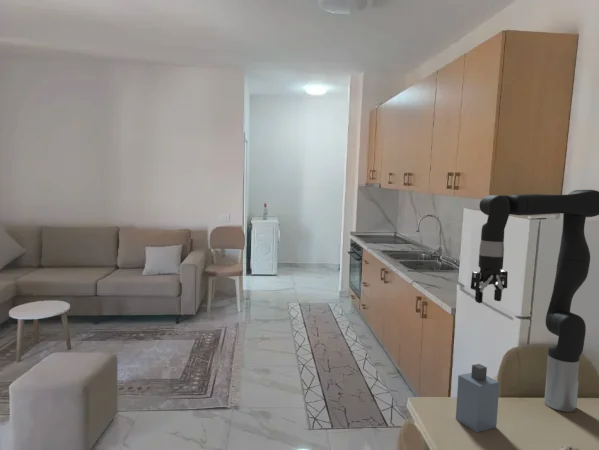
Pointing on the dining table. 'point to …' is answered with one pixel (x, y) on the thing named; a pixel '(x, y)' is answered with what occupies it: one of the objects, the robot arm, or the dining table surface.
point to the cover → (477, 399)
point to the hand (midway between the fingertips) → (488, 301)
